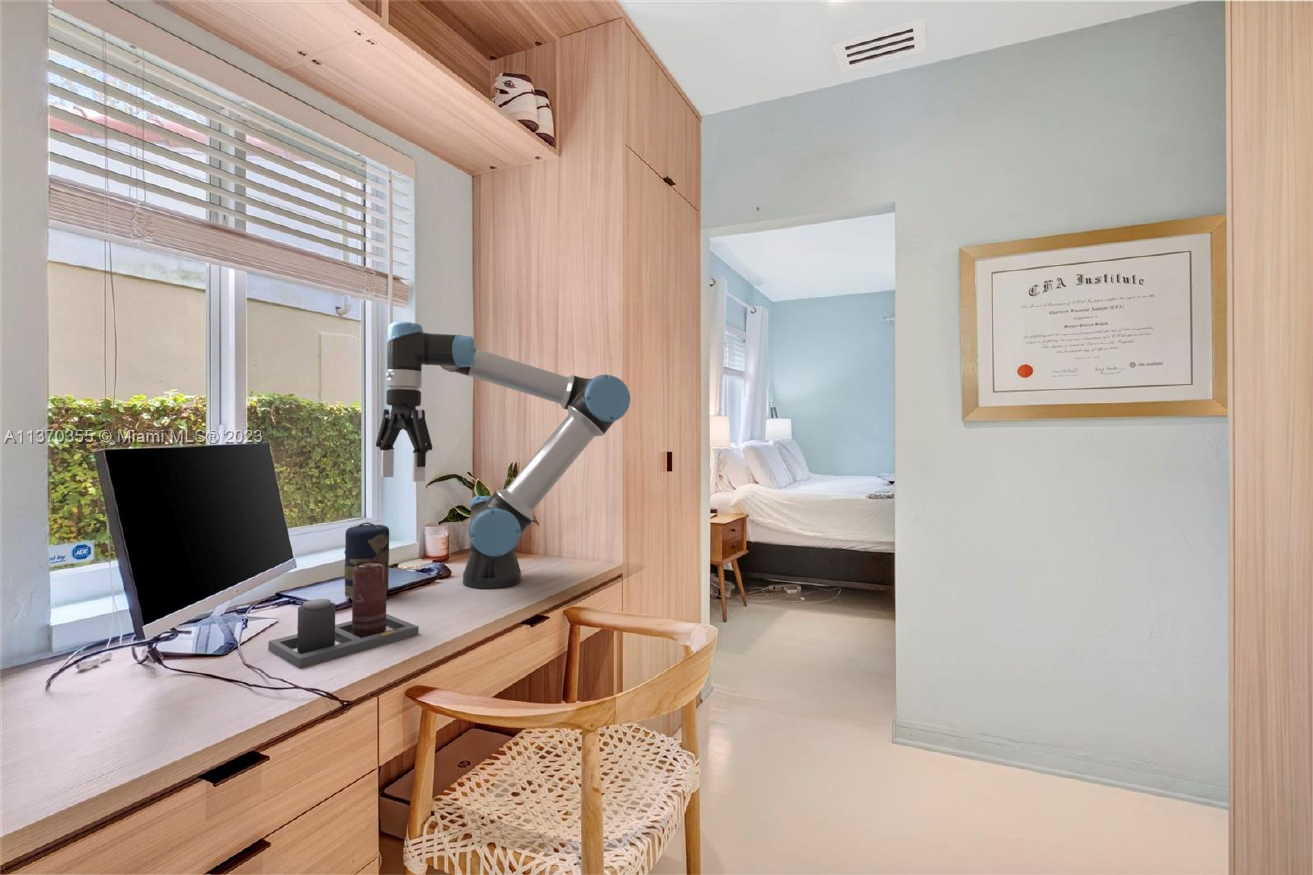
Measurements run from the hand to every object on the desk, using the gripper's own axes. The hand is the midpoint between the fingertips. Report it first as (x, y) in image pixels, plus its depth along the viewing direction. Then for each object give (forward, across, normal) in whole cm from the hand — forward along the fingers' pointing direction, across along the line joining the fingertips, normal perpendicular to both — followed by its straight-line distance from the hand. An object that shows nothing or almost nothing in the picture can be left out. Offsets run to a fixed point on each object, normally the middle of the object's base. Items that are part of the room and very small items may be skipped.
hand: (402, 479), depth 141 cm
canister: (+29, -8, -4) cm, 30 cm away
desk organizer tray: (+29, +18, -21) cm, 40 cm away
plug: (+29, +18, -26) cm, 43 cm away
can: (+29, +16, -16) cm, 37 cm away
